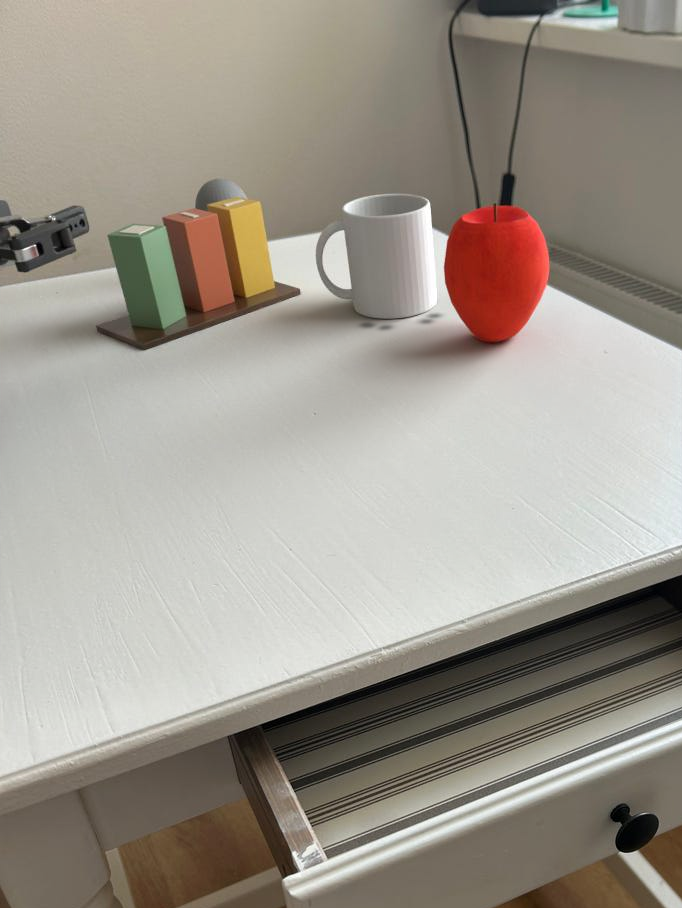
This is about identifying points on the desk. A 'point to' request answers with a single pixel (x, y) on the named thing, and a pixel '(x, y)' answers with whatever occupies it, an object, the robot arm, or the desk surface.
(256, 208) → the yellow slotted money box
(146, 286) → the green rectangular block
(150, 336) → the dark brown rectangular board
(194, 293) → the block
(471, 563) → the desk surface
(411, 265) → the mug
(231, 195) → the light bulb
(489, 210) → the apple
